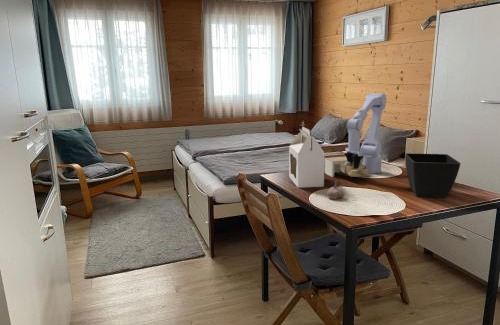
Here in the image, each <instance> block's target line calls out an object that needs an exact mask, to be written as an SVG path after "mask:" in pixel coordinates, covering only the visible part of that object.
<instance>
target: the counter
mask: <svg viewBox="0 0 500 325" xmlns="http://www.w3.org/2000/svg"><path fill="white" fill-rule="evenodd" d="M345 162H347V158H346V156H334V157H324V174H326V175H327V176H330V177H331V178H335V173H343V172H342V171H340V164H345ZM361 162H362V163H361V164H363V158H362V159H361Z"/></svg>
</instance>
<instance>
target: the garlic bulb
mask: <svg viewBox="0 0 500 325" xmlns="http://www.w3.org/2000/svg"><path fill="white" fill-rule="evenodd" d="M337 185H338V180H335V182H334V186H332V187H330V188H328V191H327V192H326V197H327V198H329V199H331V200H337V199H340V198H343V196H344V194H345V192H344V190H343V189H341V188H339V187H338V186H337Z"/></svg>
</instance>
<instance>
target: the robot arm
mask: <svg viewBox="0 0 500 325" xmlns="http://www.w3.org/2000/svg"><path fill="white" fill-rule="evenodd" d="M364 98H365V99H364V100H365V102H364V103H363V106H362V107H361V108H360V109H358V110H357V111H356V112H355V114H354V115H353V117H352V118H349V119H348V120H347V123H346V129H347V133H348V140H347V141H348V147H345V151H344V157H346V158H347V162H350V163H353V165H354V168H355V169H356V168H358V167H359V164H360V161H361V159H363V165H365V166H366V169H368V170H369V174H379V173H382V161H383V160H382V158H381V156H380V155H381V149H382V146H381V145H382V143H381V142H380V141H378V136H379V128H380V126H381V125H380V124H381V119H382V115H383V111H384V110H385V109H386V104H387V95H386V94H385V93H384V92H383V93H378V92H377V93H373V92H372V93H371V92H369V93H367V94H366V95H365V97H364ZM370 110H371V111H372V114H371V119H370V125H369V129H368V135H367V138H366V139H364V140H363V141H362V144H361V146H360V143H361V130H362V129H363V126H364V122H365V120H366V119H367V117H368V112H369V111H370Z"/></svg>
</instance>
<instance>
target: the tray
mask: <svg viewBox="0 0 500 325" xmlns="http://www.w3.org/2000/svg"><path fill="white" fill-rule="evenodd" d="M361 163H362V162H361V161H360V164H359V167H358V168H356V169H355V168H354V165H353V163H350V162H345V164H340V171H342V172H341V173H343V174H346V175H348V176H350V177H351V178H352V177H369V176H370V173H369V170H368V169H366V166H365V165H363V164H361Z"/></svg>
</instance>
